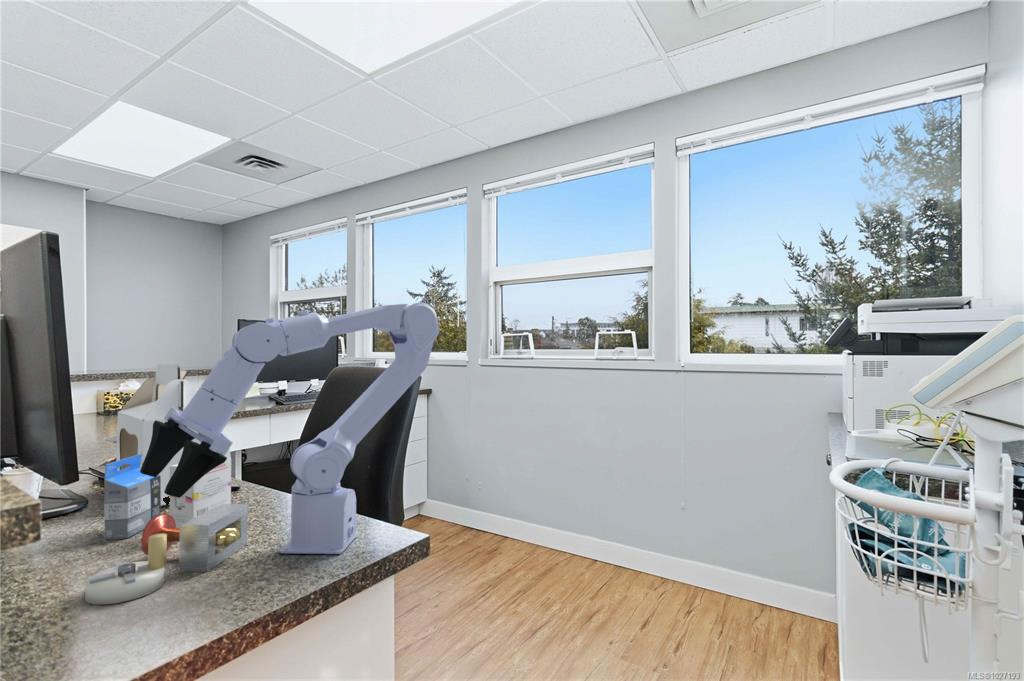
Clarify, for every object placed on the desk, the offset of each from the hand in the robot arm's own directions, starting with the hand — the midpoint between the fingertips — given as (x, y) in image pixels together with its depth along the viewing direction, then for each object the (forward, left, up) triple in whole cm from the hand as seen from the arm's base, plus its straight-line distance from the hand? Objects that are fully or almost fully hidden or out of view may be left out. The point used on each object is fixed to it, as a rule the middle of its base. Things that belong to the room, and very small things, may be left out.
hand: (159, 484), depth 68 cm
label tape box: (+17, -18, -13) cm, 28 cm away
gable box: (+29, -41, -13) cm, 51 cm away
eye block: (-4, -7, -12) cm, 15 cm away
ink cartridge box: (+6, -19, -13) cm, 23 cm away
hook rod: (-1, -7, -12) cm, 14 cm away
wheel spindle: (+1, +4, -10) cm, 11 cm away
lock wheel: (+1, +4, -12) cm, 13 cm away
